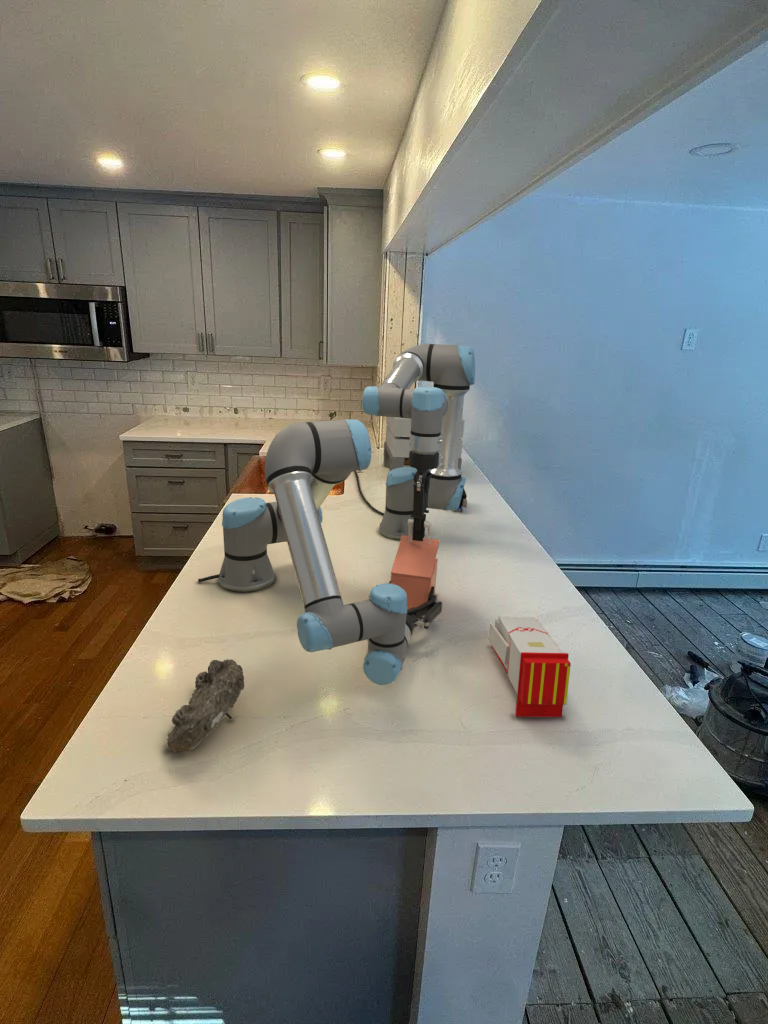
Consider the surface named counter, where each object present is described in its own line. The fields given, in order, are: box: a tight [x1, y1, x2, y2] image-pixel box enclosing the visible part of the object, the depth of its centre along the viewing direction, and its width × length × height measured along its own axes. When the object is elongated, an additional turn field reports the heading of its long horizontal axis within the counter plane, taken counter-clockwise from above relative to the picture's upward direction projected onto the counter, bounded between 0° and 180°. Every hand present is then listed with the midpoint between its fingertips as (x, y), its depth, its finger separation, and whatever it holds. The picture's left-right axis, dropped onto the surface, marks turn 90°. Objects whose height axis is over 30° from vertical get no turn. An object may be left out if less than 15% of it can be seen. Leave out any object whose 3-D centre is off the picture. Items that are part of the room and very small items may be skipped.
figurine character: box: [457, 488, 468, 512], centre depth 228 cm, size 7×8×15 cm
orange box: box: [390, 519, 440, 580], centre depth 146 cm, size 15×10×8 cm
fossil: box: [166, 658, 245, 754], centre depth 106 cm, size 22×10×15 cm
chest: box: [390, 557, 439, 619], centre depth 151 cm, size 14×10×11 cm
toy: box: [487, 616, 572, 718], centre depth 123 cm, size 12×13×30 cm
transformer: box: [383, 417, 465, 472], centre depth 268 cm, size 34×33×41 cm
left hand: (411, 588), depth 147 cm, fingers closed on chest, 10 cm apart
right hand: (418, 538), depth 149 cm, fingers closed on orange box, 2 cm apart
